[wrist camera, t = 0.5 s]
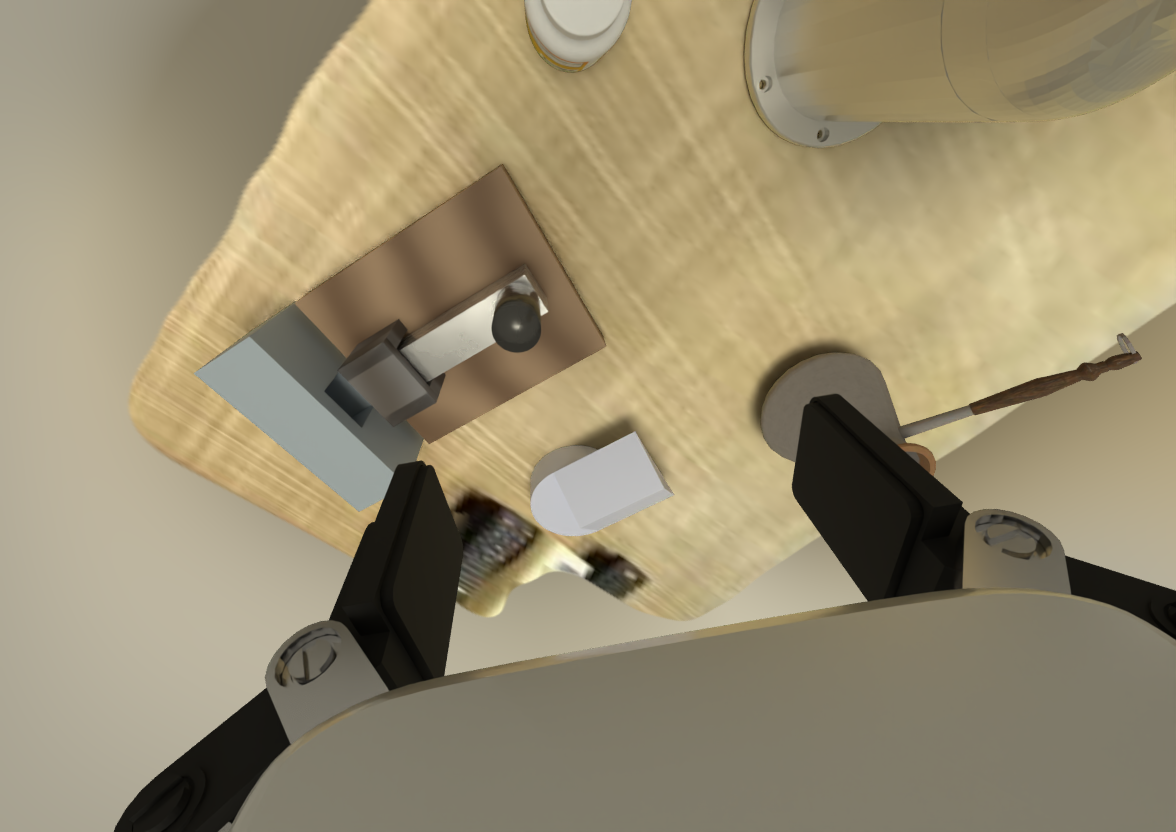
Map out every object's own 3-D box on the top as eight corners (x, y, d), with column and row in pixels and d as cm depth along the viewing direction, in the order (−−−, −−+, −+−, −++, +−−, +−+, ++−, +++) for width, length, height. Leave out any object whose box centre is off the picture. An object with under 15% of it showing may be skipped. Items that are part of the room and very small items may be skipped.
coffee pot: (787, 461, 50) (874, 577, 37) (726, 398, 45) (802, 508, 32) (982, 322, 43) (1169, 406, 31) (936, 230, 38) (1137, 284, 25)
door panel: (502, 163, 32) (496, 172, 27) (603, 336, 40) (614, 371, 35) (305, 294, 36) (264, 326, 30) (433, 431, 43) (418, 476, 38)
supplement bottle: (594, -60, 27) (621, -139, 19) (624, 50, 30) (659, 23, 22) (509, -16, 28) (500, -74, 19) (547, 88, 30) (552, 76, 22)
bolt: (525, 263, 34) (523, 296, 27) (547, 298, 35) (550, 337, 29) (393, 343, 36) (363, 392, 30) (419, 373, 38) (396, 425, 31)
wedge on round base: (628, 411, 44) (513, 471, 47) (642, 453, 39) (510, 519, 41) (666, 473, 49) (559, 524, 51) (683, 519, 43) (562, 574, 46)
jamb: (295, 301, 36) (249, 336, 30) (424, 436, 44) (407, 485, 38) (247, 333, 37) (193, 373, 31) (381, 459, 44) (359, 511, 39)
